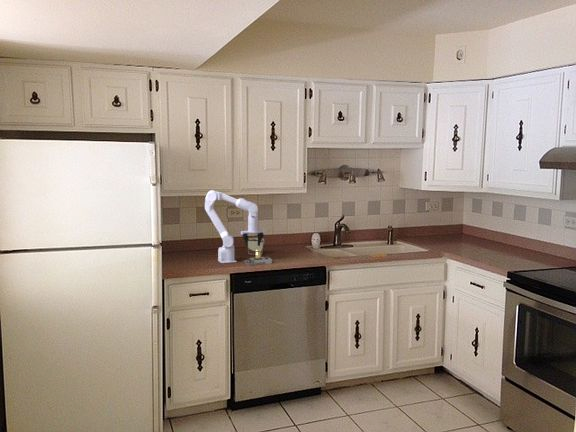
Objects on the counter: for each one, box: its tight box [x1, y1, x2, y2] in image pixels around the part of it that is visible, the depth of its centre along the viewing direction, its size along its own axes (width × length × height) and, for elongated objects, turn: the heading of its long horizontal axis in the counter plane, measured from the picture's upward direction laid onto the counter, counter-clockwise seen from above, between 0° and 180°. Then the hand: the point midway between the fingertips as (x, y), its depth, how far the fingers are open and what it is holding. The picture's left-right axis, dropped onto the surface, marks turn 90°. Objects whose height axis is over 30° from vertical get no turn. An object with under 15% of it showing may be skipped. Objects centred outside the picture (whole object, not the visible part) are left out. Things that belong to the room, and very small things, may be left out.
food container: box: [247, 237, 266, 256], centre depth 332 cm, size 12×6×10 cm, turn 70°
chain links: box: [243, 256, 273, 266], centre depth 306 cm, size 15×8×3 cm, turn 113°
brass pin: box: [254, 249, 262, 260], centre depth 305 cm, size 4×4×8 cm
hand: (252, 245), depth 309 cm, fingers open, 7 cm apart
